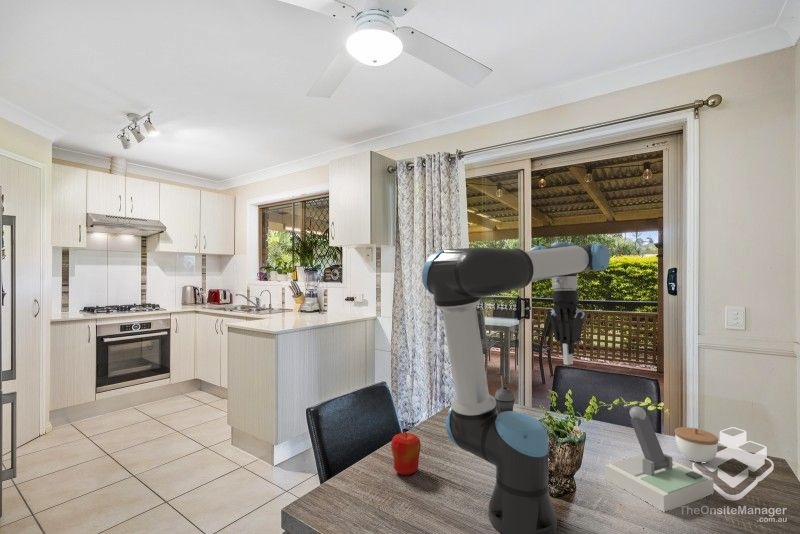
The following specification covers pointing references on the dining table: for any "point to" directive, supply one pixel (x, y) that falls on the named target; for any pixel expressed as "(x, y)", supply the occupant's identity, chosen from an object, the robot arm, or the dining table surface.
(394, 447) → the apple
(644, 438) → the toggle lever
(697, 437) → the lidded jar
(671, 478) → the switch box
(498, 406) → the beverage cup
